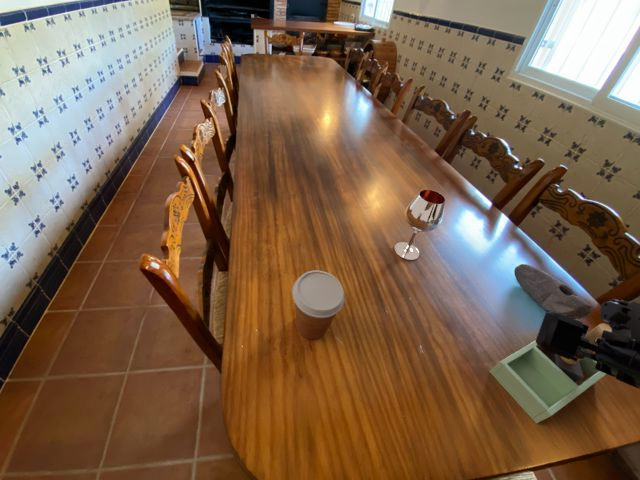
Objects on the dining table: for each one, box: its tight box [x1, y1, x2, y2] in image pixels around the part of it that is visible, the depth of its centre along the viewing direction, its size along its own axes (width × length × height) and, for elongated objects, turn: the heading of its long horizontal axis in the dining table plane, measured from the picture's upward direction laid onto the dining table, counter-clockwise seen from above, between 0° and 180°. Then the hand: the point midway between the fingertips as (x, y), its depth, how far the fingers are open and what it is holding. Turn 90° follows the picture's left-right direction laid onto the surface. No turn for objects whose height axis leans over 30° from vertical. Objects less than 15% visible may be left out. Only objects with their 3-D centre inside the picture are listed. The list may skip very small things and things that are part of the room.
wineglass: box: [393, 188, 447, 261], centre depth 72 cm, size 8×8×18 cm
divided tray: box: [488, 339, 607, 424], centre depth 54 cm, size 9×17×4 cm, turn 114°
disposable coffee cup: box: [291, 269, 346, 340], centre depth 56 cm, size 10×10×12 cm
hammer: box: [543, 322, 612, 382], centre depth 52 cm, size 6×4×13 cm
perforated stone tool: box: [514, 263, 594, 320], centre depth 67 cm, size 15×5×7 cm, turn 18°
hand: (578, 342), depth 53 cm, fingers open, 5 cm apart
